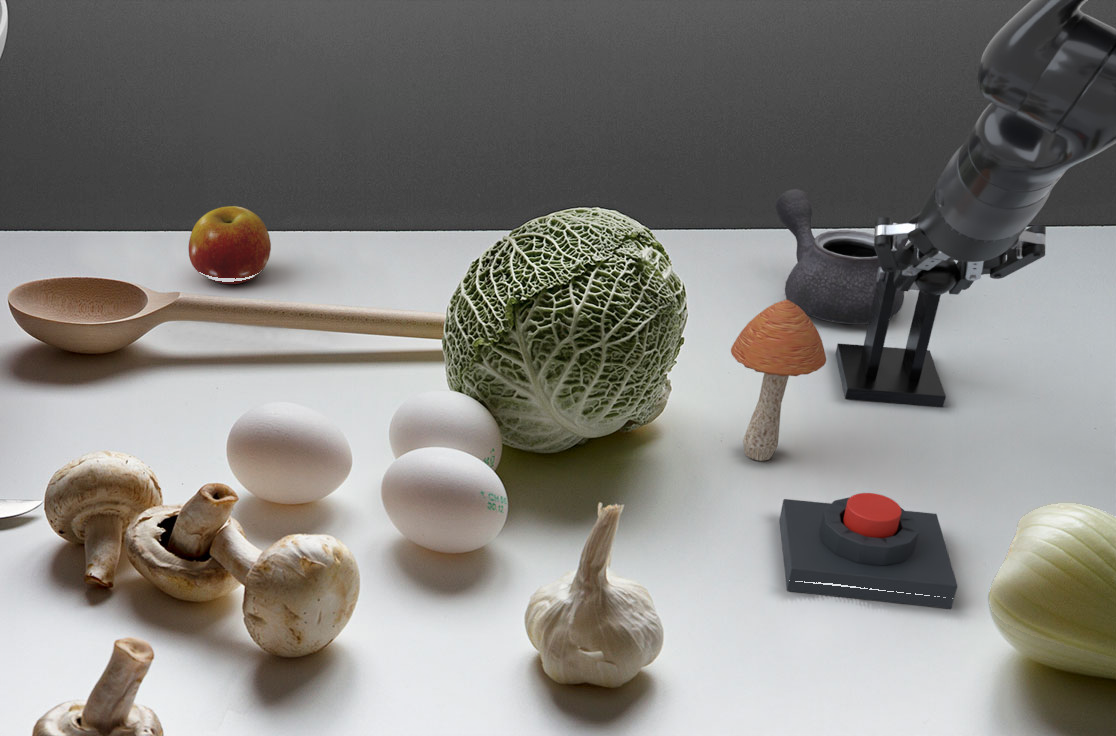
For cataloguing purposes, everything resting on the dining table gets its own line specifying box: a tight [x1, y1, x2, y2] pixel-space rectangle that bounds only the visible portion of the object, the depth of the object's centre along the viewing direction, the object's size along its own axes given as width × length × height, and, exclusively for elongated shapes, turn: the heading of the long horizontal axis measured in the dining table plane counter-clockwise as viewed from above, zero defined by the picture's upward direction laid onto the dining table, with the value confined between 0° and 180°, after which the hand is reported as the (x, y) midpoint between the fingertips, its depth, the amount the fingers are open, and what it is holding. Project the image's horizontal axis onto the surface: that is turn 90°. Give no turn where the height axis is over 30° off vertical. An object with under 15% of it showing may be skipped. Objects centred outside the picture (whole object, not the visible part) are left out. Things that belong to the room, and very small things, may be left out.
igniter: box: [843, 492, 902, 538], centre depth 100 cm, size 4×4×2 cm
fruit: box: [188, 205, 272, 285], centre depth 150 cm, size 10×9×8 cm
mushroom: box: [730, 298, 827, 462], centre depth 113 cm, size 8×8×15 cm
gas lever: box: [897, 260, 959, 296], centre depth 118 cm, size 13×4×4 cm, turn 168°
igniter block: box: [778, 496, 958, 610], centre depth 102 cm, size 12×10×4 cm
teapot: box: [775, 188, 909, 325], centre depth 143 cm, size 19×15×10 cm
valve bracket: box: [835, 267, 947, 408], centre depth 125 cm, size 10×9×13 cm
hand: (928, 282), depth 116 cm, fingers closed on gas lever, 3 cm apart
